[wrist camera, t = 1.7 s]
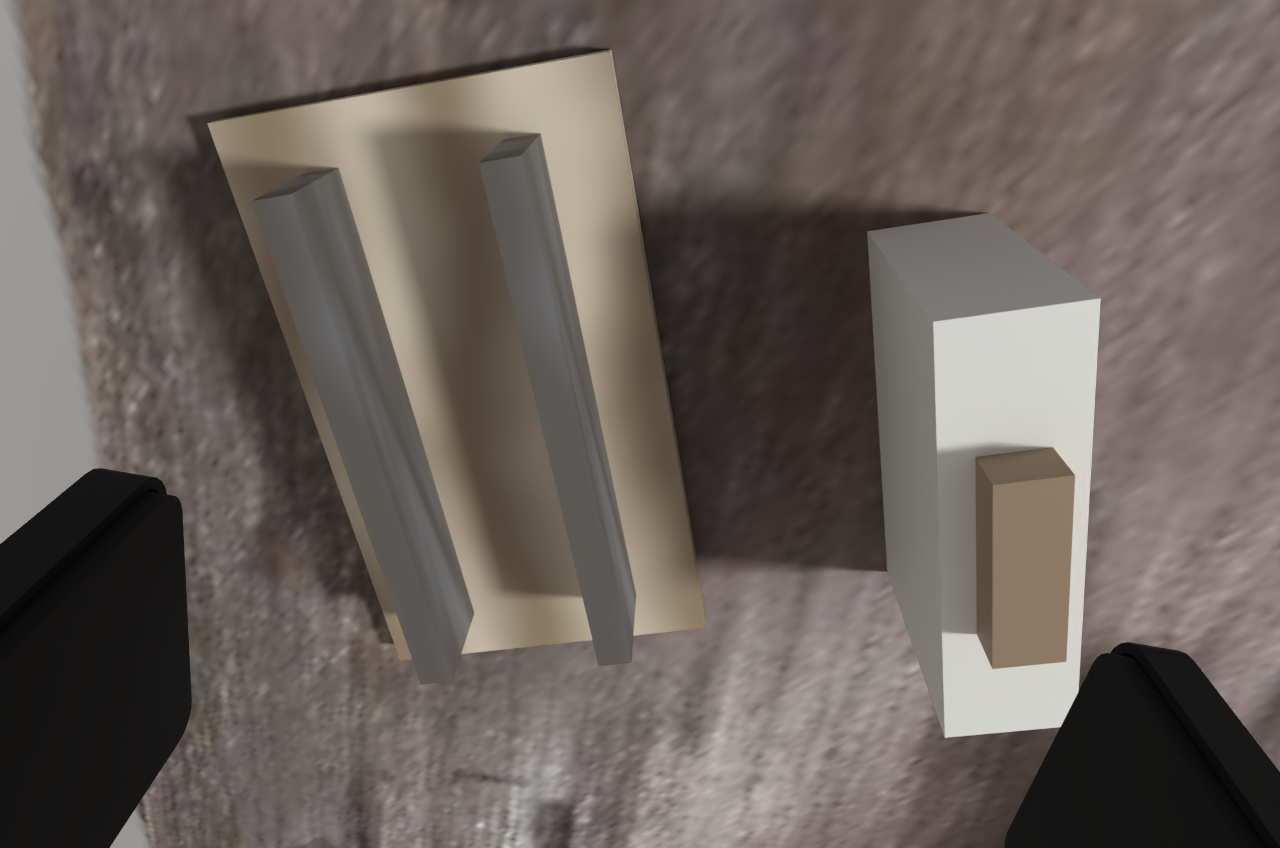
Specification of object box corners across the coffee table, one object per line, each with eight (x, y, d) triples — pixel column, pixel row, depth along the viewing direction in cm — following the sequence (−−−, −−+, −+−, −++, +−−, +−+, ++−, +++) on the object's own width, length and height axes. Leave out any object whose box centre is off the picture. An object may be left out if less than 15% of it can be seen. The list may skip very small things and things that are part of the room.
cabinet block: (988, 212, 30) (1127, 319, 21) (988, 559, 36) (1096, 763, 27) (866, 230, 31) (949, 343, 21) (886, 570, 37) (957, 775, 27)
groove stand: (611, 49, 28) (598, 62, 24) (705, 612, 38) (708, 697, 33) (221, 118, 30) (140, 144, 25) (406, 644, 39) (371, 731, 35)
